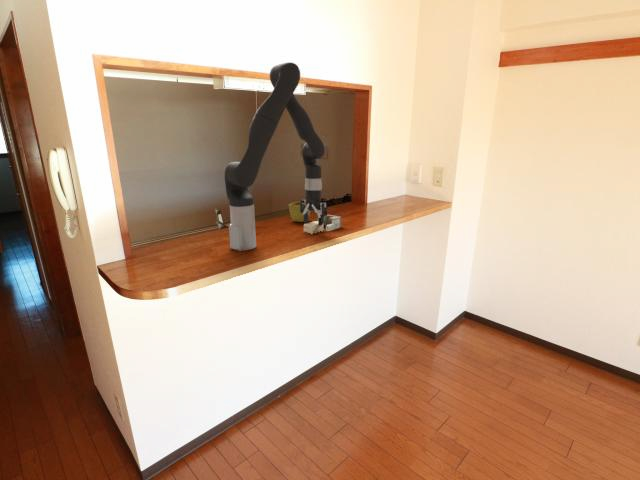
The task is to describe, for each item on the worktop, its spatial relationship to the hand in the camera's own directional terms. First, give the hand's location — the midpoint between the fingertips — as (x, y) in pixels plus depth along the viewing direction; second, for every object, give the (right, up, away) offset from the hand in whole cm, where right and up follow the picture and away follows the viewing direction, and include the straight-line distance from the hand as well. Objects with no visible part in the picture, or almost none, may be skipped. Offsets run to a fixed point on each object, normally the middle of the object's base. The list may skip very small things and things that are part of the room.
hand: (313, 223), depth 167 cm
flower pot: (-7, +2, +21) cm, 23 cm away
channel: (+6, -1, +8) cm, 10 cm away
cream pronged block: (0, -4, +1) cm, 4 cm away
